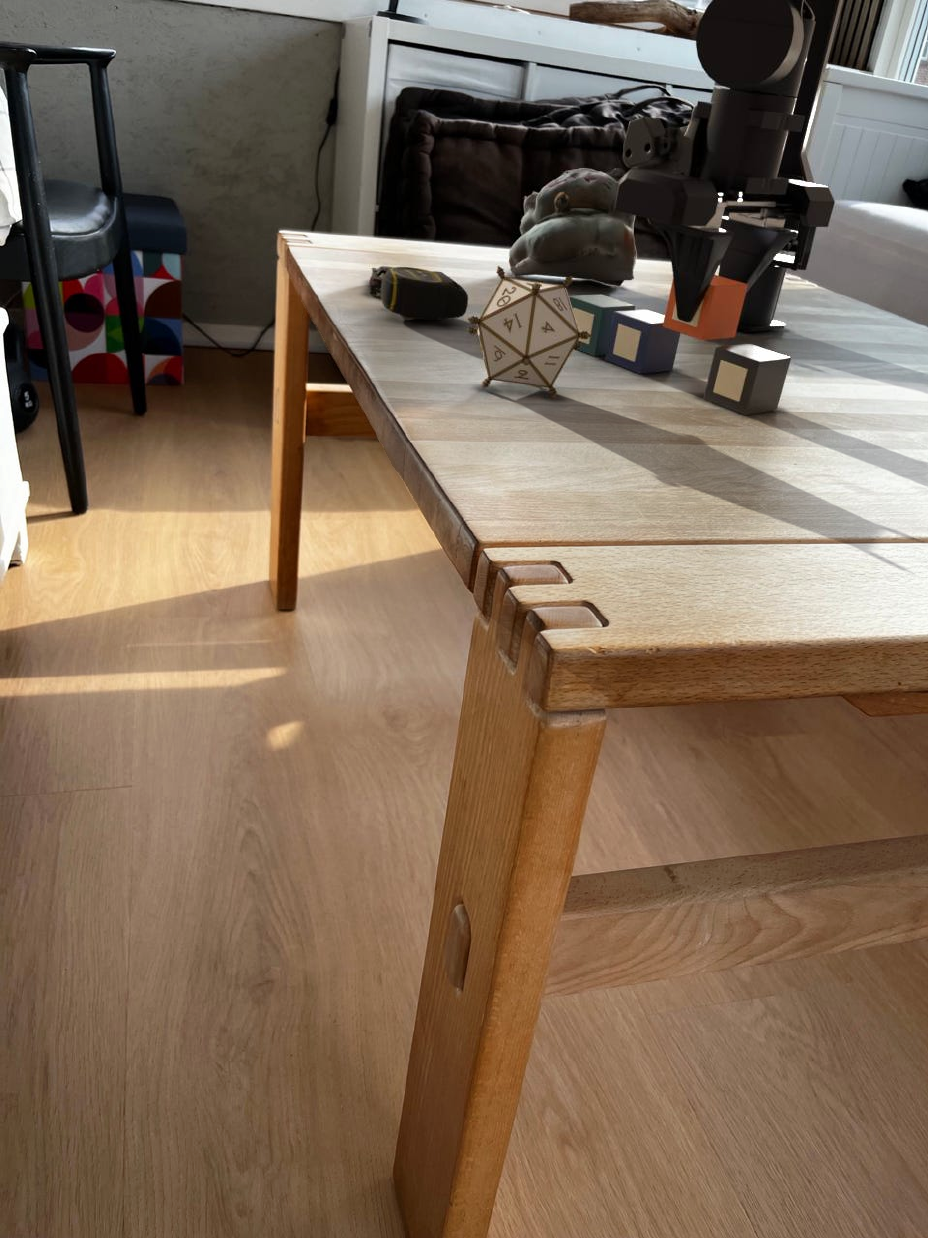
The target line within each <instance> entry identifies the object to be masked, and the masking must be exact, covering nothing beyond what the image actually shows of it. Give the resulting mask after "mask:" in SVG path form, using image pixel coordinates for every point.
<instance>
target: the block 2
mask: <svg viewBox="0 0 928 1238" xmlns="http://www.w3.org/2000/svg"><path fill="white" fill-rule="evenodd" d="M664 318H665V314H661V313H659V312H655V311H652V310H650V309H646V308H645V309H635V310H631V311H616V312H614V316H613V321H612V327H611V332H610V337H609V342H608V347H607V353H606V355H605V359H604V360H605V361H606V362H608V363H611V364H614V365H615V366H618V367H622V368H624V369H627V370H629V371H631V372H634V373H636V374H639V375H644V374H652V373H659V372H668V371H673V369H674V364H675V361H676V360H675V359H676V356H677V351H678V346H679V341H680V337H681V334H682V333H680V332H677V331H674V330H671V329H668V328H666V327H663V322H664Z"/></svg>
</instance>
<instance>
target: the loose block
mask: <svg viewBox="0 0 928 1238" xmlns="http://www.w3.org/2000/svg"><path fill="white" fill-rule="evenodd" d="M747 286H748V284H745V283H742V282H738V281H735V280H731V279H728V278H724V277H721V276H718V274H715V275H714V277H713V279H712V281H711V283H710V285H709V288H708V290H707V292H706V294H705V296H704V298H703V300H702V303H701V304H700V306H699V308H698V310H697V312H696V313H695V315H694V317H693V319H692V321H691V322H684V321H681V320H679V319H678V317H677V310H676V300H675V291H674V281H673V280H672V281H671V286H670V291H669V295H668V300H667V303H666V308H665V314H664V315H665V318H664V322H663V327H666V328H668V329H671V330H674V331H677V332H680V333H681V334H683V335H686V336H689V337H692V338H695V339H697V340H701V341H709V340H720V339H729V338H730V339H731V338H735V337H736V334H737V330H738V329H737V326H738V322H739V318H740V314H741V310H742V306H743V302H744V298H745V294H746V290H747Z"/></svg>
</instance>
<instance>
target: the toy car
mask: <svg viewBox="0 0 928 1238" xmlns="http://www.w3.org/2000/svg"><path fill="white" fill-rule="evenodd" d="M394 267H395V266H387V265H382V266H380V267H378V268H377V267H372V268H371V270H372V273H371V276H370V278H369V287H368V288H369V293H370V295H376V296H377V294H378V293H379V294H381V285H382V279H383V277H384V276H385V274H386V271H387V270H388V269H391V268H394Z"/></svg>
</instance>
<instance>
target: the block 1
mask: <svg viewBox="0 0 928 1238" xmlns="http://www.w3.org/2000/svg"><path fill="white" fill-rule="evenodd" d="M568 296H569V300H570V303H571V306H572V309H573V312H574V315H575V318H576V322H577V325H578V328H579V331H580V333H581V332H583V331H584V332H586V331H587V332H588V333H589V334H590V335H591V336H590V337H589V338H588V339H582V338H579V340H578V341H579V342H580V343H581V345H582V346H580V347H578V348H577V349H576V347H575V348H574V349H575V350H578V351H580V352H582V353H585V354H587V355H591V356H593V357H598V356H600V357H601V356H606V353H607V347H608V342H609V337H610V332H611V327H612V321H613V316H614V312H616V311H631V310H636V305H635V304H632V303H630V302H626V301H623V300H620V299H617V298H614V297H611V296H608V295H605V294H603V293H601V294H598V293H597V294H580V295H579V294H578V295H568Z"/></svg>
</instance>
